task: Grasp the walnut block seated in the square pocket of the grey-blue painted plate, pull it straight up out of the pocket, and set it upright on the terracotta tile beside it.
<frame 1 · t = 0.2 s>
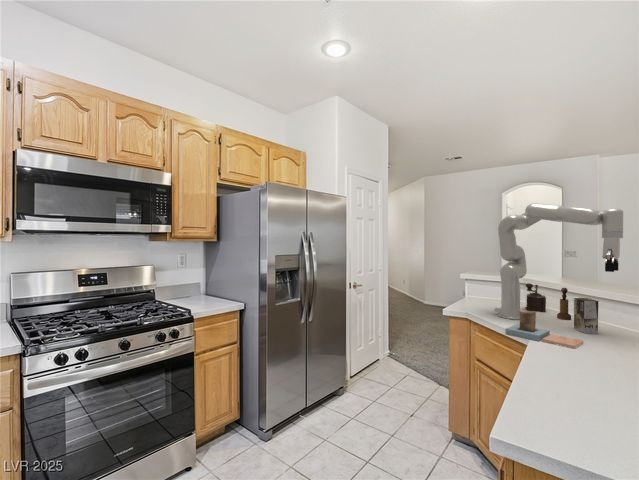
hand: (611, 271, 154), 31 cm above the counter, tool pointing down, fingers open, 9 cm apart
pepper mill: (535, 311, 208), on the counter
pocket plate: (527, 334, 155), on the counter
coffee box: (585, 331, 162), on the counter
wooden chess piece: (564, 319, 188), on the counter
terracotta tile: (562, 342, 144), on the counter
walnut block: (527, 323, 155), in the pocket plate
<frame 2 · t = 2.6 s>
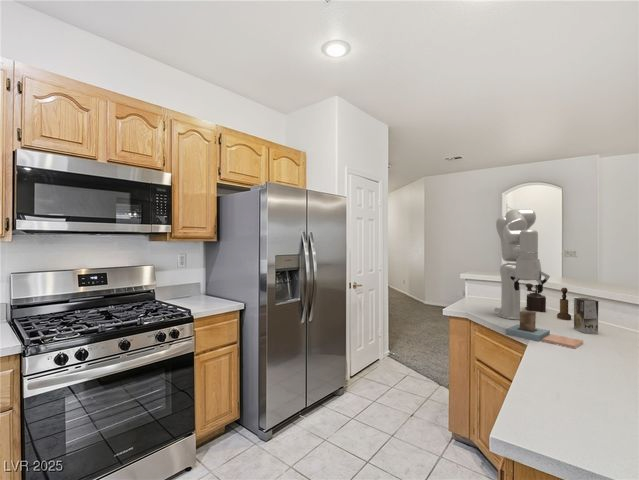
hand: (528, 291, 155), 21 cm above the counter, tool pointing down, fingers open, 9 cm apart
nothing on the counter moved.
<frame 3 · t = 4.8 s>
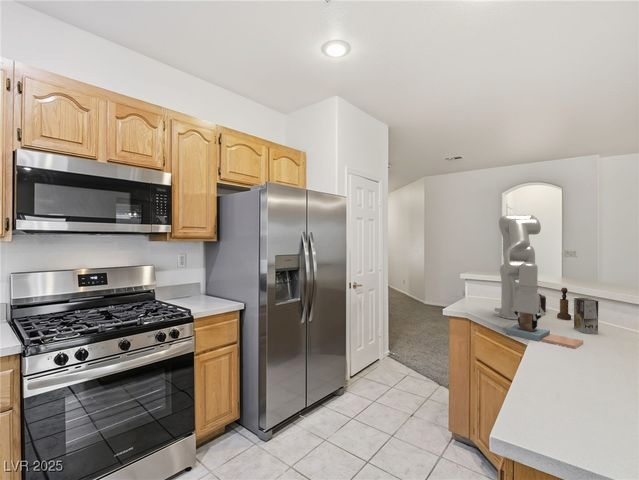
hand: (527, 326, 155), 4 cm above the counter, tool pointing down, fingers closed on walnut block, 5 cm apart
walnut block: (527, 323, 155), in the pocket plate, touching gripper
everything else where it was.
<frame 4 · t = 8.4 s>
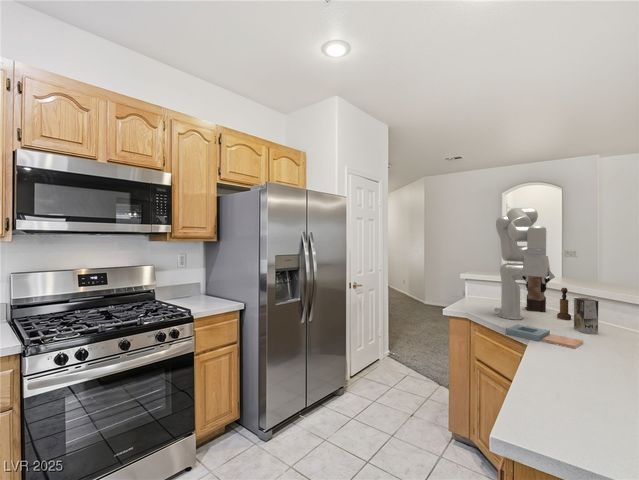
hand: (536, 290, 152), 22 cm above the counter, tool pointing down, fingers closed on walnut block, 5 cm apart
walnut block: (536, 287, 152), point 23 cm above the counter, touching gripper
everything else where it was.
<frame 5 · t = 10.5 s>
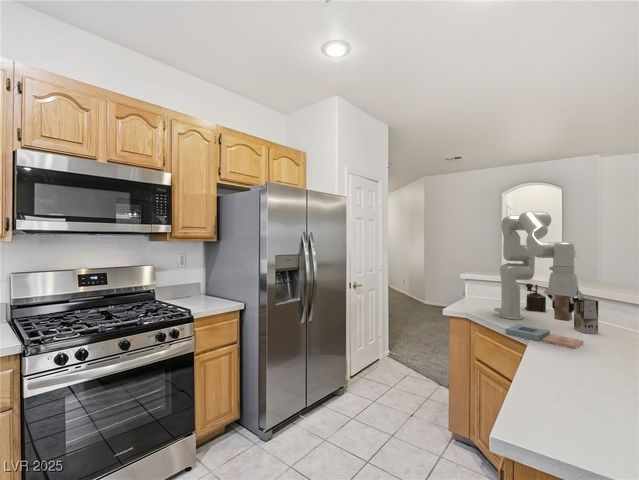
hand: (563, 310, 144), 14 cm above the counter, tool pointing down, fingers closed on walnut block, 5 cm apart
walnut block: (563, 307, 144), point 16 cm above the counter, touching gripper
everything else where it was.
when the fingers open (6 cm above the counter, at t = 12.3 s): walnut block drops 1 cm, resting on terracotta tile.
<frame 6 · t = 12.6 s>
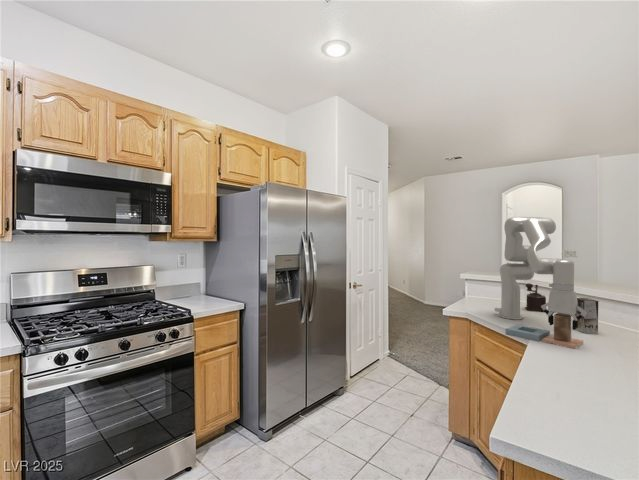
hand: (562, 326, 144), 7 cm above the counter, tool pointing down, fingers open, 8 cm apart
walnut block: (562, 327, 144), on the terracotta tile, point 7 cm above the counter
everything else where it was.
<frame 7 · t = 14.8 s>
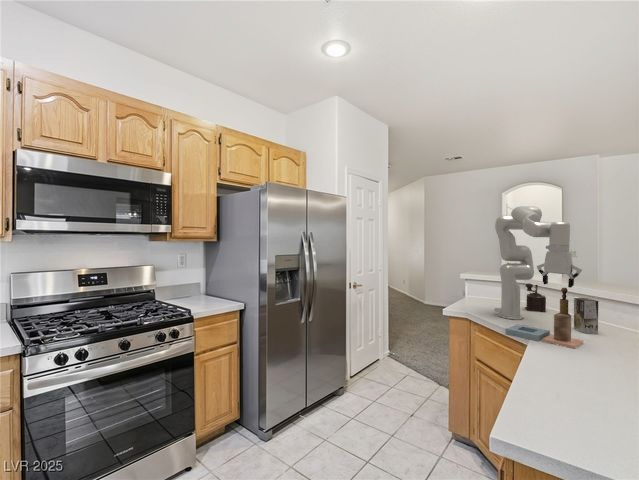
hand: (557, 285, 150), 24 cm above the counter, tool pointing down, fingers open, 9 cm apart
nothing on the counter moved.
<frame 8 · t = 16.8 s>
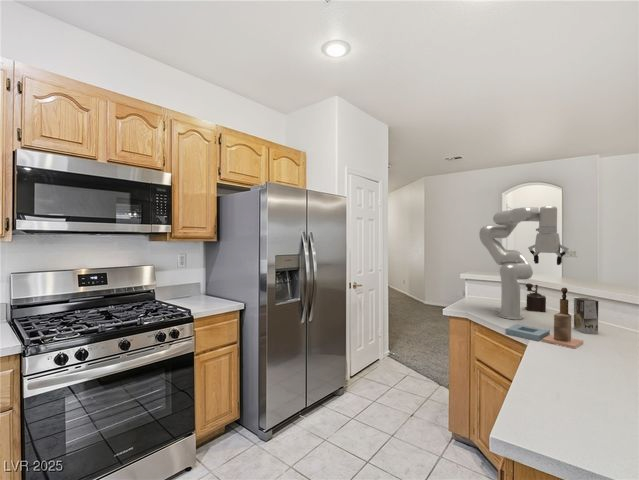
hand: (547, 264, 165), 33 cm above the counter, tool pointing down, fingers open, 9 cm apart
nothing on the counter moved.
at the end: walnut block inside the target area on the terracotta tile (0.1 cm from its centre), point 6.7 cm above the terracotta tile's base; walnut block tilted 0°; the gripper is holding nothing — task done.
